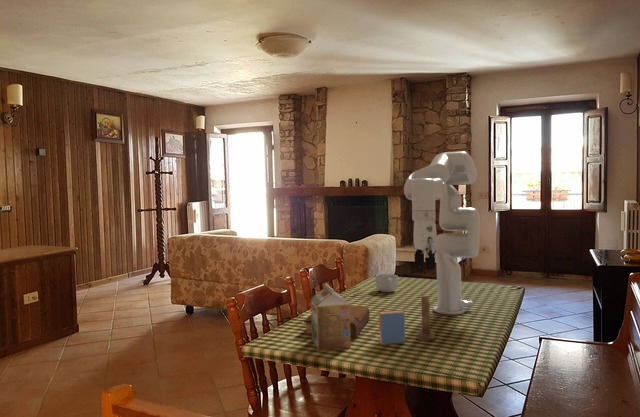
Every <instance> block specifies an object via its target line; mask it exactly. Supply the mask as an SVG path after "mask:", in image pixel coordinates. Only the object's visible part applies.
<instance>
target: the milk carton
mask: <svg viewBox="0 0 640 417" xmlns="http://www.w3.org/2000/svg"><path fill="white" fill-rule="evenodd" d="M324 286H325V288H323V289H321V290H320V291H318V292H317V293H315V294H314V295H313V296H312V297H311V298H310V309H311V310H310V312H311V313H310V315H311V322H312V335H311V341H312V343H313V344H314V346H315V348H316V349H317V351H319V352H320V351H330V350H341V349H350V348H351V347H352V346H351V340H352V338H350V306H351V305H350V303H349V302H348V301H347V300H346V299H344V298H343V297H342V296H341V295H340V294H339V293H337V291H335V290H334V288H332V287H331V286H330V285H329V284H327V283H325V285H324Z"/></svg>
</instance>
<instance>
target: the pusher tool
mask: <svg viewBox="0 0 640 417" xmlns="http://www.w3.org/2000/svg"><path fill="white" fill-rule="evenodd" d="M420 299H421V330H419V331H417V340H419V341H421V342H434V341H435V338H436V336H435V335H436V332H434V331H432V330H431V316H430V314H431V313H430V311H431V308H430V305H431V304H430V296H425V295H423V296H421V298H420Z"/></svg>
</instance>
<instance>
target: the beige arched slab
mask: <svg viewBox="0 0 640 417" xmlns="http://www.w3.org/2000/svg"><path fill="white" fill-rule="evenodd" d="M369 320H370V308H369V307H368V306H360V305H357V306H356V305H350V338H351V339H356V338H357V337H358V336H359V334H360V333H361V332H362V330H363V329H364V327H366V324H367V323H369ZM303 323H304V324H306V325H305V326H306V332H305V333H304V336H312V322H311V314H309V316H307V317H306V318H305V319H304V320H303Z"/></svg>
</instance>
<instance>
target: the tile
mask: <svg viewBox="0 0 640 417" xmlns="http://www.w3.org/2000/svg"><path fill="white" fill-rule="evenodd" d="M405 319H406V318H405V311H404V310H396V311H395V310H394V311H393V310H392V311H379V312H378V324H379V325H378V326H379V330H378V331H379V344H381V345H388V344H390V345H391V344H404V343H406V327H405V325H406V321H405ZM403 342H404V343H403Z"/></svg>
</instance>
